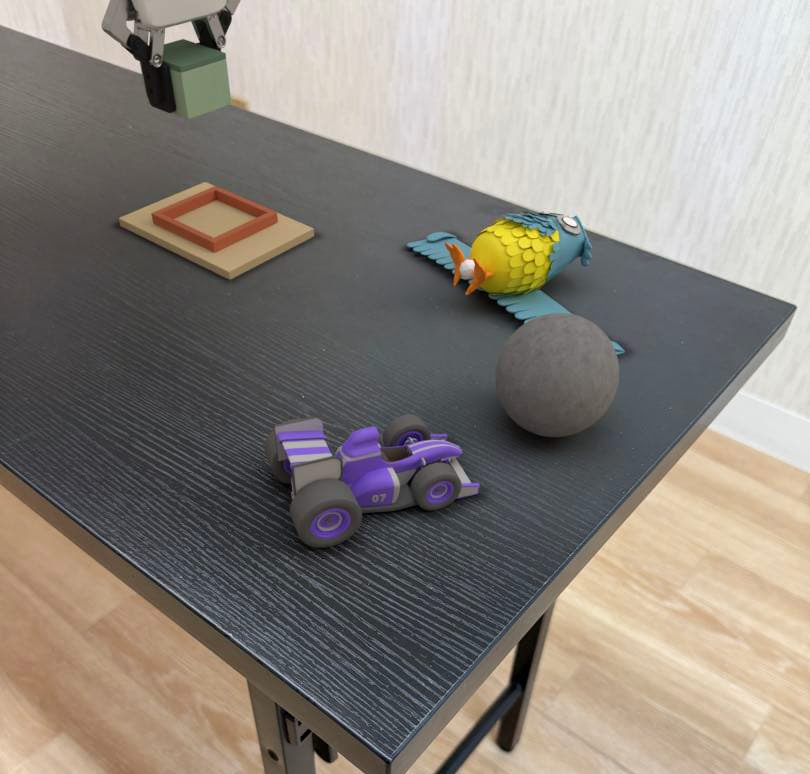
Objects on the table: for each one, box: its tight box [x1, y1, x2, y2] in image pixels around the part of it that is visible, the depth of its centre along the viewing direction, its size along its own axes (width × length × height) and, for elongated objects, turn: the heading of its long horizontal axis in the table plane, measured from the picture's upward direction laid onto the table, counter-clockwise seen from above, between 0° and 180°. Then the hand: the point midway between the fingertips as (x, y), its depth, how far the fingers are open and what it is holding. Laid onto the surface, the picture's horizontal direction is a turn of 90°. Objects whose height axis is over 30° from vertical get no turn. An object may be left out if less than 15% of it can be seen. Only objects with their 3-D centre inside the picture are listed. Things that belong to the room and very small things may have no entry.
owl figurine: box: [406, 210, 626, 356], centre depth 81 cm, size 28×9×15 cm
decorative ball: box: [494, 313, 620, 438], centre depth 66 cm, size 10×10×10 cm
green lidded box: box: [139, 38, 232, 120], centre depth 77 cm, size 6×6×4 cm
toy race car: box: [264, 413, 481, 549], centre depth 61 cm, size 10×15×6 cm, turn 111°
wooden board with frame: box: [118, 181, 315, 281], centre depth 91 cm, size 18×13×2 cm
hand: (188, 98), depth 78 cm, fingers closed on green lidded box, 5 cm apart
